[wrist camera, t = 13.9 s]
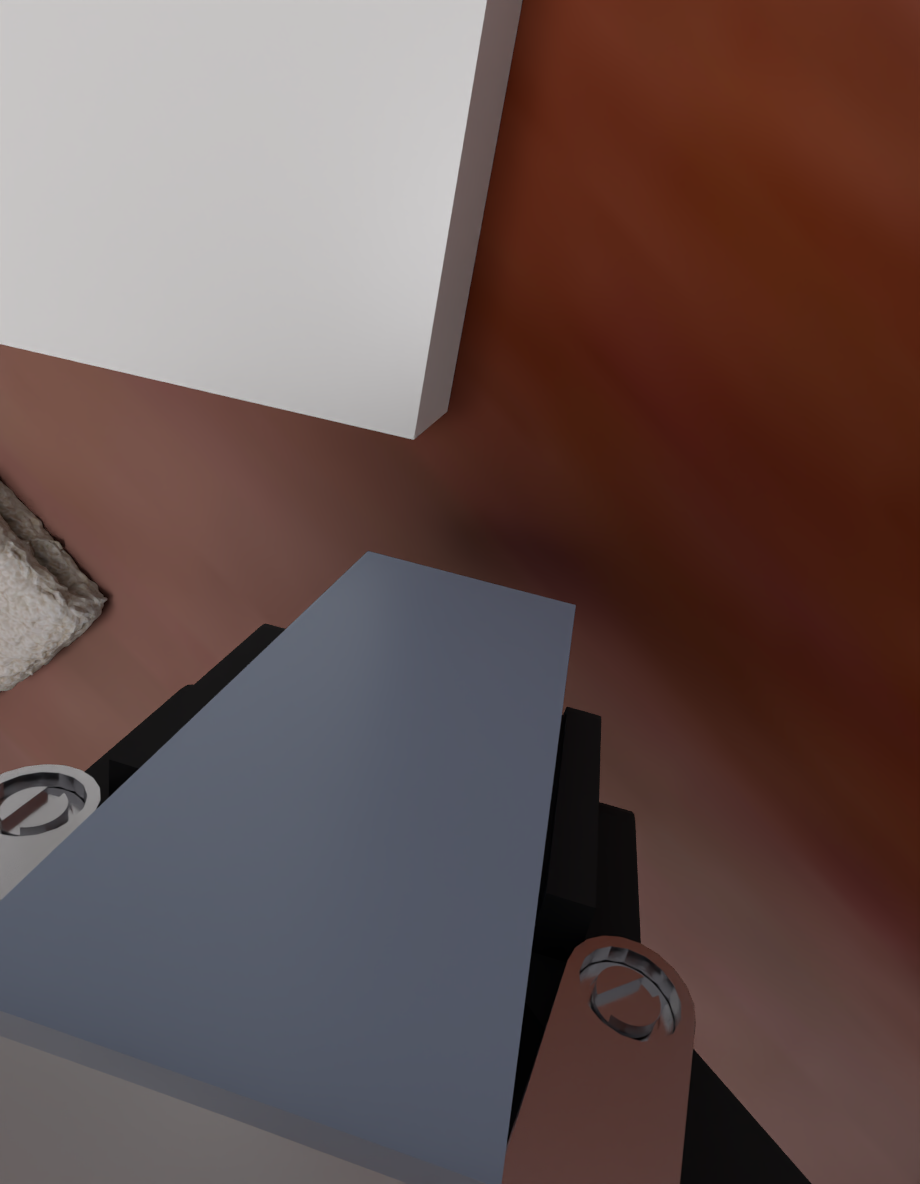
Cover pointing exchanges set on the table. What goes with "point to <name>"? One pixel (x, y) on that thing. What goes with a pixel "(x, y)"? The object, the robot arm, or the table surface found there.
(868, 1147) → the table surface
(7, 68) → the socket block
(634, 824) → the robot arm
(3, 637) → the washcloth
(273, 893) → the plug
